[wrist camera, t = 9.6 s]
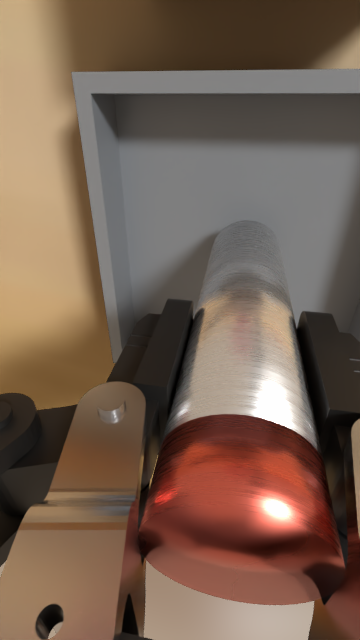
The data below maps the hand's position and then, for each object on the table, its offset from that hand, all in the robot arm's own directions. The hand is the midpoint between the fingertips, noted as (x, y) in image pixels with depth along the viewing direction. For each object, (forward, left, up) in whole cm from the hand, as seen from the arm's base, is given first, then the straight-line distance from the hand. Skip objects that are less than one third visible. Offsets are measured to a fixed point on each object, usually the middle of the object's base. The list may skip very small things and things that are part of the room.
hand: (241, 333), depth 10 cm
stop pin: (0, 0, -6) cm, 6 cm away
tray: (0, 0, -8) cm, 8 cm away
